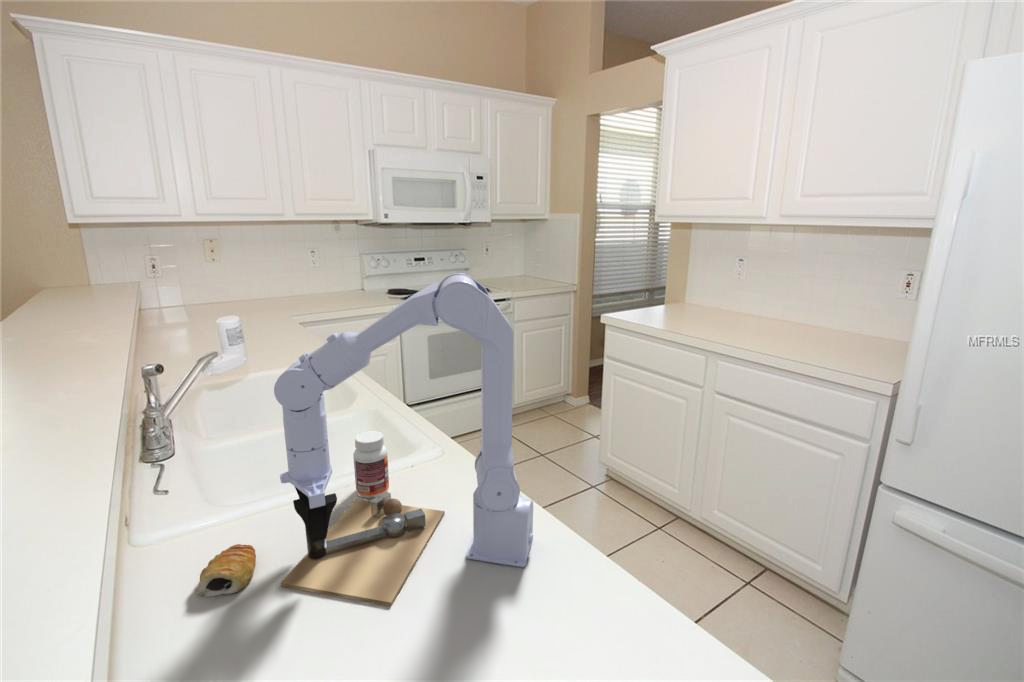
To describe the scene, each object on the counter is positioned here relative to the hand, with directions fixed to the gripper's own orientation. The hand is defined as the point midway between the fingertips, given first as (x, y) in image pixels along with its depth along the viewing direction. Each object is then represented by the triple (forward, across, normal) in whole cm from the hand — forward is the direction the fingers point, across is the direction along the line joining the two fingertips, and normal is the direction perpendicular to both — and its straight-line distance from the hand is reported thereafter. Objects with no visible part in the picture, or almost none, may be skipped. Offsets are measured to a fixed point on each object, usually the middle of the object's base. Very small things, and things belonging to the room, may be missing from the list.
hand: (314, 525), depth 76 cm
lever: (+5, 0, +8) cm, 9 cm away
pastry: (+6, -2, -12) cm, 14 cm away
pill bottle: (+6, -16, +12) cm, 21 cm away
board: (+6, +1, +8) cm, 10 cm away
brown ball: (+4, -5, +13) cm, 14 cm away
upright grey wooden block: (+6, -7, +12) cm, 15 cm away
